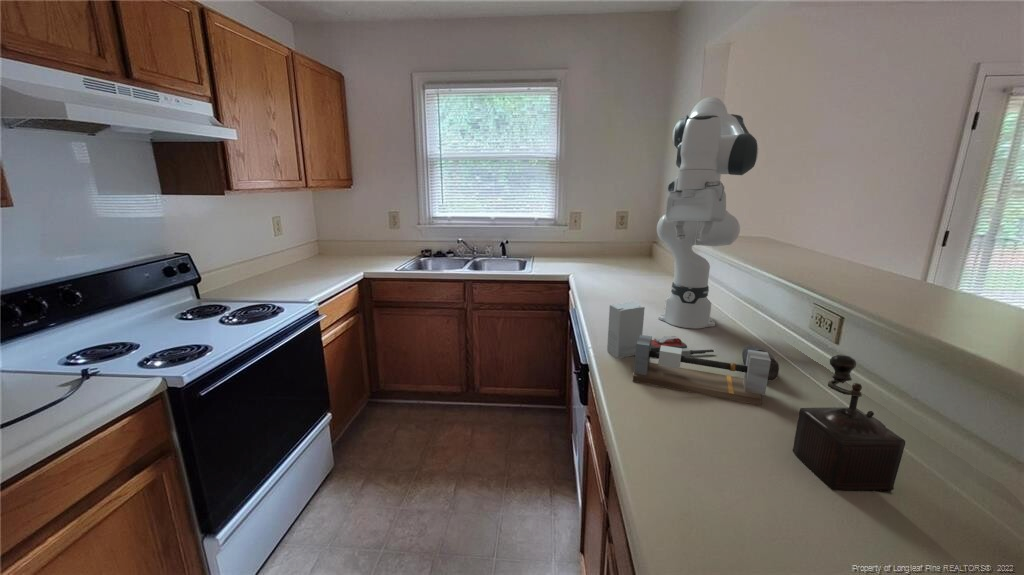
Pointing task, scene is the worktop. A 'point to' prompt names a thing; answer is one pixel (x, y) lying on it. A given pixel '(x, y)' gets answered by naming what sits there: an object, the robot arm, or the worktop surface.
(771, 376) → the perforated stone tool
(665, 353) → the sleeve
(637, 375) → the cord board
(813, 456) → the manual coffee grinder
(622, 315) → the skincare box
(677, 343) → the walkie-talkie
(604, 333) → the worktop surface
